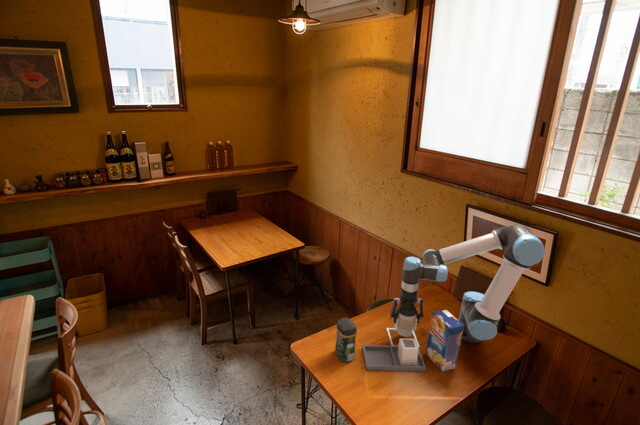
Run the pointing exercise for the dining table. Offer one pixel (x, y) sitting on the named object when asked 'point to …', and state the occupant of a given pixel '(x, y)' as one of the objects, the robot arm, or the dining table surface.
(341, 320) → the coffee jar
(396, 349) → the divided tray
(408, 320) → the coffee cup
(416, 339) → the square frame
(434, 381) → the dining table surface
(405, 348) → the white box
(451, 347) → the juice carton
